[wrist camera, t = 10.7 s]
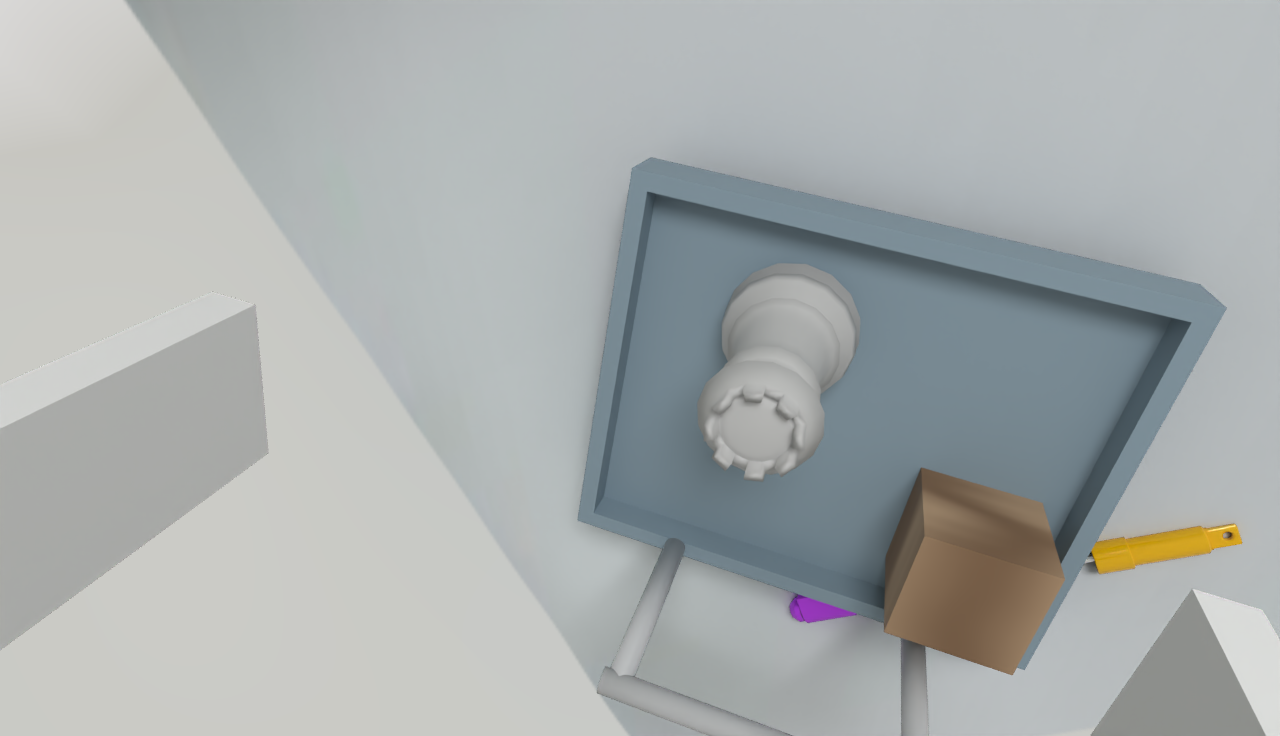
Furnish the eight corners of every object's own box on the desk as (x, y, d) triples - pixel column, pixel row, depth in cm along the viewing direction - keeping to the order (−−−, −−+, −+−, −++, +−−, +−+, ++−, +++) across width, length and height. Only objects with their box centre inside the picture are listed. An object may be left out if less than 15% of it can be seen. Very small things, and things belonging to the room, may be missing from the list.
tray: (659, 152, 27) (534, 224, 17) (1188, 274, 23) (1376, 441, 14) (603, 480, 33) (490, 658, 24) (1012, 612, 30) (1062, 876, 21)
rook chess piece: (739, 245, 25) (679, 332, 18) (878, 274, 24) (869, 379, 17) (716, 365, 27) (653, 486, 20) (842, 397, 26) (822, 535, 19)
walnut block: (885, 555, 28) (883, 632, 25) (921, 467, 26) (924, 536, 23) (998, 591, 27) (1012, 675, 24) (1042, 502, 26) (1065, 579, 22)
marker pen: (799, 616, 33) (1238, 542, 26) (794, 630, 32) (1250, 556, 25) (778, 559, 33) (1214, 470, 26) (772, 570, 32) (1225, 480, 25)
